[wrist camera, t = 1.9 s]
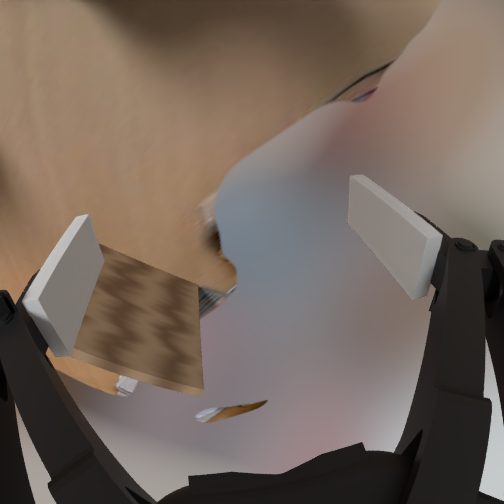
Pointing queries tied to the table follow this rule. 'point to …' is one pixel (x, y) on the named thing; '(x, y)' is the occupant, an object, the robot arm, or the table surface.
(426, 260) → the robot arm
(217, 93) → the table surface
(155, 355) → the board
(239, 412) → the table surface
